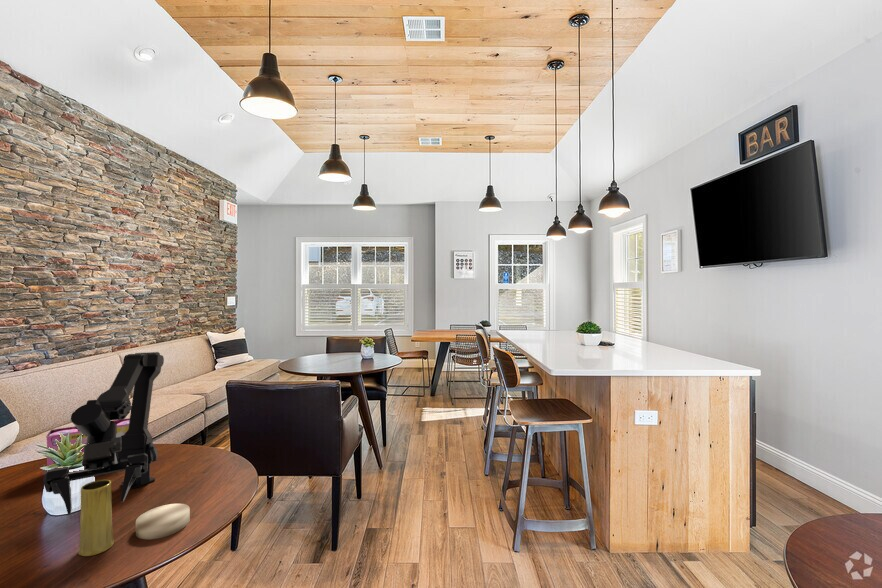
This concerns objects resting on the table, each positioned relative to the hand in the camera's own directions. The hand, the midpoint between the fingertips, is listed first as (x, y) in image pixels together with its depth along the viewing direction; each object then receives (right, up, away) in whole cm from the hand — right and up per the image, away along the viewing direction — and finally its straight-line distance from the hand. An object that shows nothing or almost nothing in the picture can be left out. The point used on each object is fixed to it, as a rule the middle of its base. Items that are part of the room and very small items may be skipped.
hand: (96, 507), depth 93 cm
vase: (0, -9, -1) cm, 9 cm away
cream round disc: (+9, -9, +8) cm, 16 cm away
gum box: (-36, -9, +43) cm, 57 cm away
